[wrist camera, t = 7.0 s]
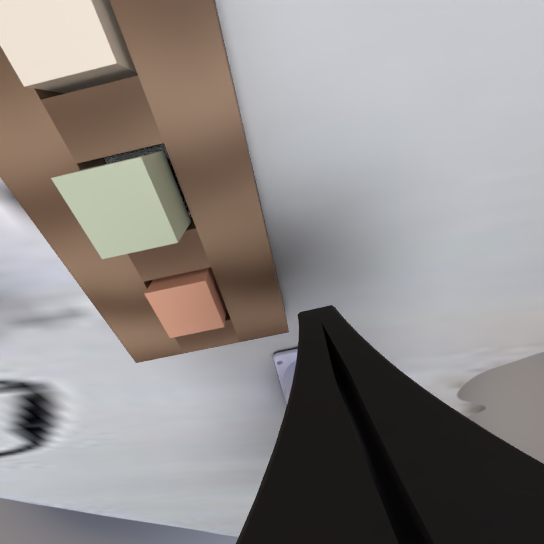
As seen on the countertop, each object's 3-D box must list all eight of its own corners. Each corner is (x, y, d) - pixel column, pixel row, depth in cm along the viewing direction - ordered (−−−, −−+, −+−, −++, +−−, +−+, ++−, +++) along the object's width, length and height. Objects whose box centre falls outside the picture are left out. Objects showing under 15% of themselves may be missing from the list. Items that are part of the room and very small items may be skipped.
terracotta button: (227, 300, 19) (224, 327, 17) (180, 309, 19) (170, 338, 17) (212, 257, 17) (205, 280, 15) (159, 269, 18) (144, 293, 15)
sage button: (191, 221, 14) (178, 242, 12) (128, 235, 15) (102, 259, 12) (163, 150, 12) (140, 156, 10) (91, 167, 13) (50, 178, 10)
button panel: (284, 310, 21) (288, 332, 19) (147, 338, 21) (136, 362, 19) (177, -164, 9) (155, -253, 7) (-122, -79, 10) (-229, -136, 7)
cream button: (145, 76, 12) (117, 63, 10) (71, 94, 12) (23, 86, 10) (103, -39, 10) (53, -94, 8) (15, -16, 10) (-62, -62, 8)
